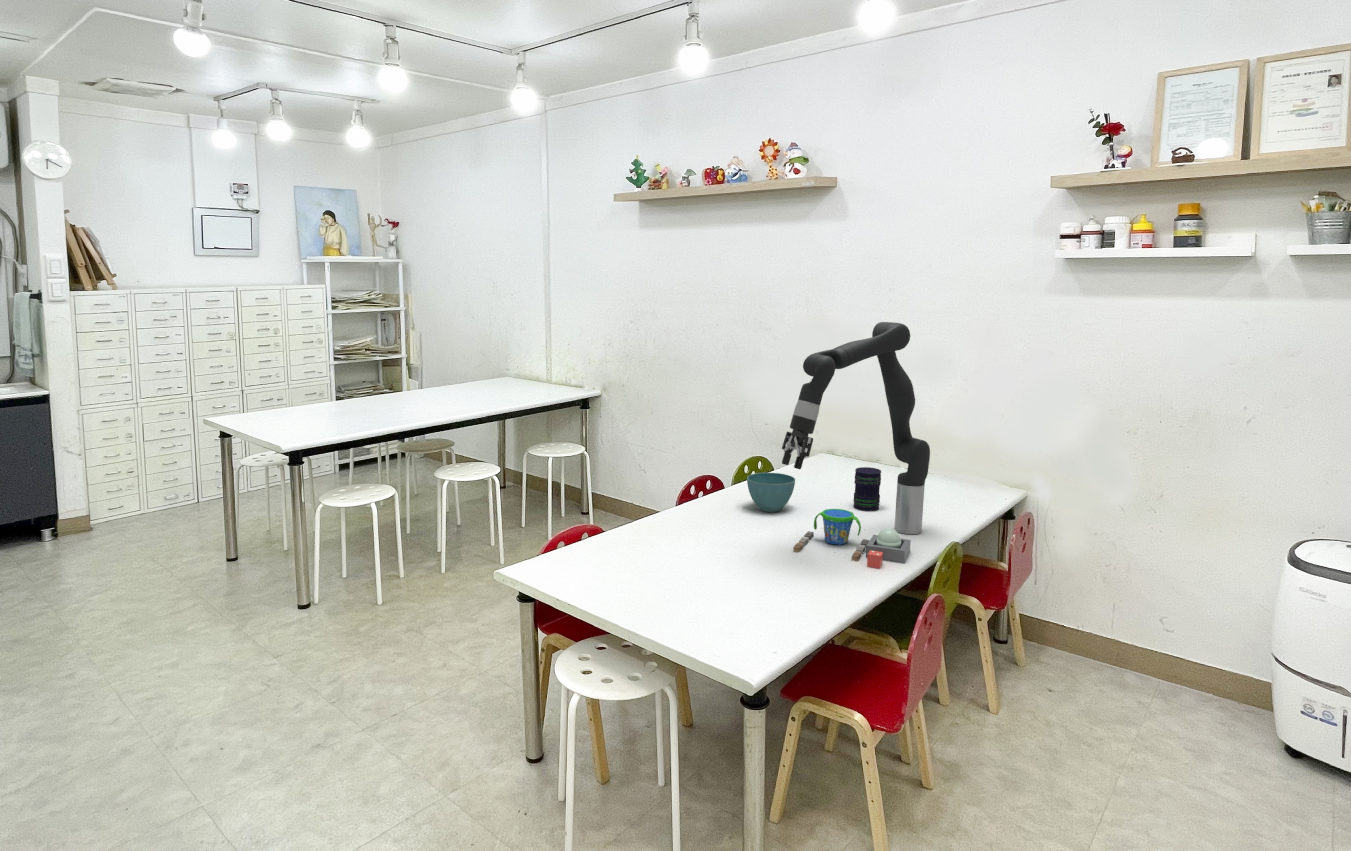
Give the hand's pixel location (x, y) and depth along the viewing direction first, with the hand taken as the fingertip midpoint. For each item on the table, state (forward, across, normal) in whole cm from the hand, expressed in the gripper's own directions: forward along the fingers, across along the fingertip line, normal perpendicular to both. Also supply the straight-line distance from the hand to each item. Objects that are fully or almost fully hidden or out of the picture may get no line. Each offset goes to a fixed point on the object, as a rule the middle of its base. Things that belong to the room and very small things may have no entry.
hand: (790, 466), depth 255 cm
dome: (+18, -7, -39) cm, 43 cm away
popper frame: (+19, -6, -39) cm, 44 cm away
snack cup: (+21, +9, -29) cm, 37 cm away
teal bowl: (+20, +51, -24) cm, 60 cm away
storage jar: (+10, +42, -59) cm, 73 cm away
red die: (+22, -14, -30) cm, 40 cm away
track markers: (+23, +5, -25) cm, 34 cm away
